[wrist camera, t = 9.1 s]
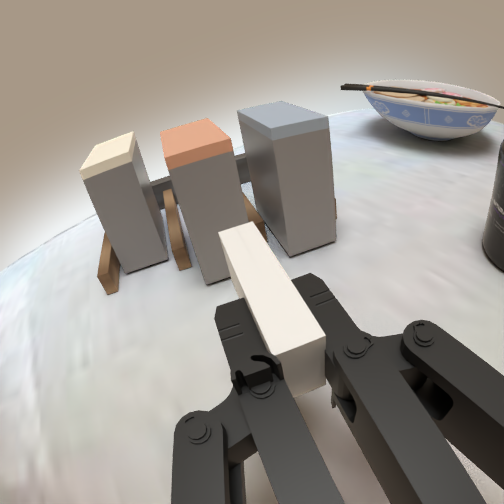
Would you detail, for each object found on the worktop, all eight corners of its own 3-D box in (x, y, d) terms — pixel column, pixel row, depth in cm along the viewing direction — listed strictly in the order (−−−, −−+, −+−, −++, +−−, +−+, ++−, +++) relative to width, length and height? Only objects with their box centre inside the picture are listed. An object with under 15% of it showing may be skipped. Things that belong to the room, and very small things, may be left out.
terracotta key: (258, 267, 24) (230, 138, 18) (206, 284, 23) (164, 157, 17) (231, 218, 30) (207, 118, 24) (190, 231, 30) (160, 132, 24)
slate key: (336, 240, 25) (328, 116, 19) (289, 256, 24) (270, 128, 18) (295, 199, 31) (281, 101, 25) (256, 210, 31) (236, 110, 25)
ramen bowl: (496, 130, 43) (497, 88, 38) (513, 176, 29) (520, 114, 24) (375, 111, 56) (372, 72, 51) (337, 145, 42) (332, 89, 37)
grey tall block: (168, 259, 27) (128, 151, 21) (125, 273, 26) (79, 170, 20) (162, 217, 33) (133, 131, 27) (127, 229, 33) (95, 145, 27)
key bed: (336, 218, 27) (335, 188, 26) (107, 294, 25) (91, 266, 23) (278, 168, 39) (275, 145, 37) (116, 219, 36) (107, 197, 34)
